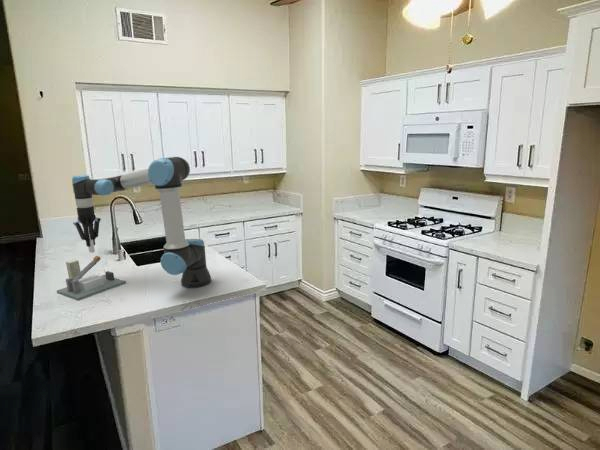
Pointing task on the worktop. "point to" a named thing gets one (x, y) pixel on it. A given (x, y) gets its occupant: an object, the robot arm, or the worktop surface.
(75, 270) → the box
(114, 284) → the clamp base
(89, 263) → the lever handle
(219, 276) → the worktop surface
